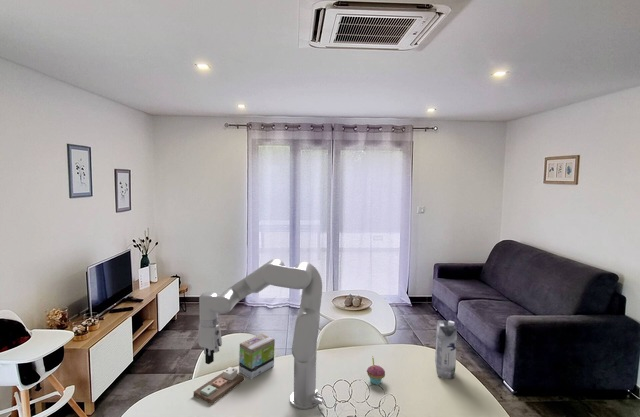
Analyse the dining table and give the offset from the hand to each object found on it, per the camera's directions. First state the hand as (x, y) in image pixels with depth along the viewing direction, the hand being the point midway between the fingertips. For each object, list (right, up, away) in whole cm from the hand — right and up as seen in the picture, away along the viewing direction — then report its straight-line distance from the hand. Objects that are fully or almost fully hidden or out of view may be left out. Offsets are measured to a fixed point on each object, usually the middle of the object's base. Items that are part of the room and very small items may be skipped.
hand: (209, 362), depth 144 cm
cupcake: (+75, -16, +14) cm, 78 cm away
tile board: (+2, -15, +7) cm, 16 cm away
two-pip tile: (+6, -12, +12) cm, 18 cm away
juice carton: (+110, -16, +22) cm, 114 cm away
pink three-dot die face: (+2, -15, +7) cm, 16 cm away
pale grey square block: (-1, -15, +1) cm, 15 cm away
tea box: (+16, -14, +22) cm, 31 cm away
